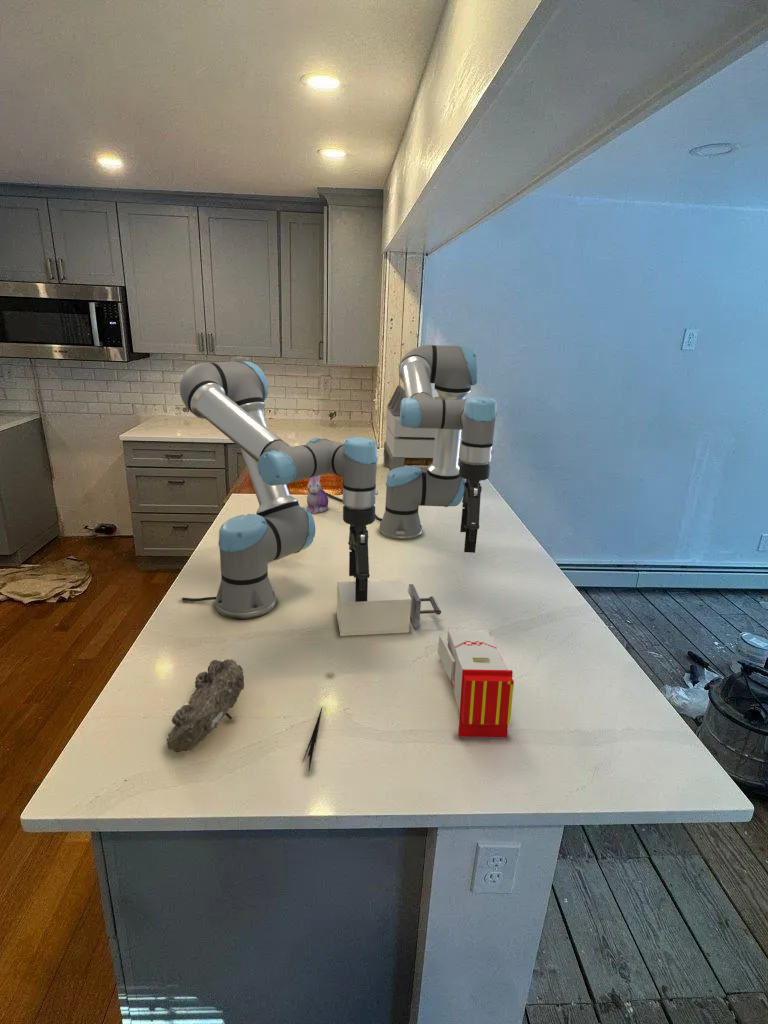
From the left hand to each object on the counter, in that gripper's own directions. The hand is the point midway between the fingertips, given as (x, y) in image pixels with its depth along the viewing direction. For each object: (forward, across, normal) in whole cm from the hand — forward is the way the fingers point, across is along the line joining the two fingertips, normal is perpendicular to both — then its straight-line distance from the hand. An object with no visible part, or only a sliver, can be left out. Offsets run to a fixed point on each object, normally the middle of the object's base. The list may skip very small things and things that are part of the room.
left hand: (357, 587), depth 138 cm
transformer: (+9, +136, -47) cm, 144 cm away
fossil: (+10, -30, +31) cm, 45 cm away
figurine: (+9, +86, +5) cm, 86 cm away
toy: (+11, -28, -20) cm, 37 cm away
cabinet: (+10, 0, -4) cm, 11 cm away
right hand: (-8, +7, -29) cm, 31 cm away
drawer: (+9, 0, -10) cm, 14 cm away
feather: (+11, -34, +11) cm, 37 cm away
